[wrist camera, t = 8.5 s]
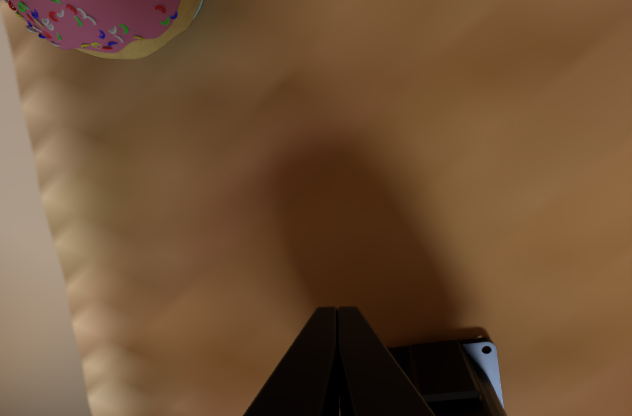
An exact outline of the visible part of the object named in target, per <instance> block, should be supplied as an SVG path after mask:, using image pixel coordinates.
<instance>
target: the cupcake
mask: <svg viewBox="0 0 632 416" xmlns="http://www.w3.org/2000/svg"><path fill="white" fill-rule="evenodd" d="M4 1H5V2H6V3H8V4H9V7H10V8H11V9H12V10H13V11H15V10H17V11H16V15H17V16H18V17H20V18H22V19H25V21H26V22H27V23H28V24H29V25H27V26H26V29H27V30H28V31H30V32H33V33H36V32H38V33H39V35H38V36H39V37H40V38H45V39H47V40H48V41H49V42H51V44H52V45H54V46H57V47H59V48H61V49H63V50H69V49H72V48H75V49H77V50H80V51H82V52H85V53H88V54H91V55H94V56H97V57H101V58H108V59H139V58H143V57H146V56H148V55H150V54H152V53H154V52H155V51H157V50H158V49H160V48H161V47H163V46H164V45H165V44H167V43H168V42H169V41H170V40H171V39H172V38H174V37H175V36H177V35H178V34H180V33H182V32H183V31H185V30H186V29H187V28H188V27H189V26H190V24H191V23H192V21H193V19H194V18H195V17H196V15H197V14H198V12H199V10H200V8H201V5H202V2H203V0H9V1H8V0H4ZM11 4H12V6H11ZM13 6H14V8H12V7H13ZM19 14H20V15H21V16H20V15H19ZM30 27H31V28H30ZM29 28H30V29H31V30H30V29H29ZM32 29H34V30H32Z"/></svg>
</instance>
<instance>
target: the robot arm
mask: <svg viewBox="0 0 632 416" xmlns="http://www.w3.org/2000/svg"><path fill="white" fill-rule="evenodd" d="M484 346H489V347H488V349H485V350H483V349H482V348H483V347H484ZM339 396H340V402H339ZM243 416H507V415H506V413H505V410H504V406H503V398H502V391H501V383H500V375H499V367H498V359H497V351H496V347H495V345H494V343H493V342H492V341H491V340H490V339H488V338H477V339H468V340H459V341H456V340H451V341H443V342H434V343H425V344H417V345H412V346H407V347H399V348H390V349H387V348H386V346H385V345H384V343H383V342H382V341H381V339H380V338H379V336H378V335H377V334H376V332H375V331H374V329H373V328H372V327H371V325H370V324H369V323H368V321H367V320H366V318H365V317H364V316H363V314H362V313H361V311H360V310H359V309H358V308H357V307H355V306H341V307H339V308H338V310H337V308H336V307H318V308H317V309H316V310H315V311H314V313H313V314H312V316H311V317H310V319H309V320H308V321H307V323H306V324H305V326H304V327H303V329H302V330H301V332H300V333H299V335H298V336H297V338H296V339H295V340H294V342H293V343H292V345H291V346H290V348H289V349H288V351H287V352H286V354H285V355H284V356H283V358H282V359H281V361H280V362H279V364H278V365H277V367H276V368H275V370H274V371H273V373H272V374H271V375H270V377H269V378H268V380H267V381H266V383H265V384H264V386H263V387H262V389H261V390H260V391H259V393H258V394H257V396H256V397H255V399H254V400H253V402H252V403H251V405H250V406H249V407H248V409H247V410H246V412H245V413H244V415H243Z"/></svg>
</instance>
